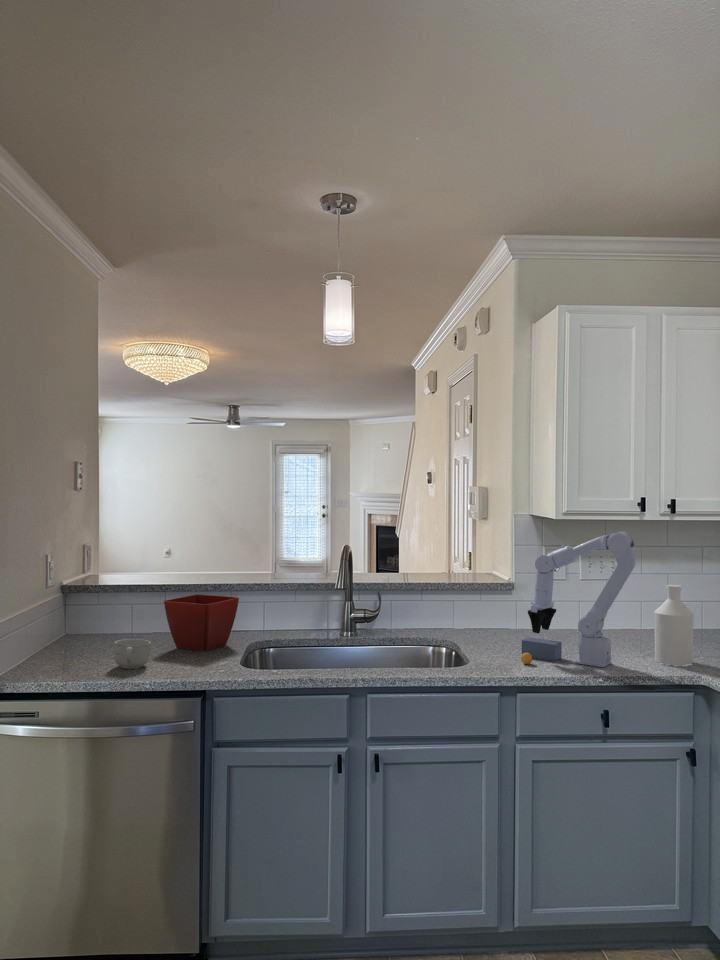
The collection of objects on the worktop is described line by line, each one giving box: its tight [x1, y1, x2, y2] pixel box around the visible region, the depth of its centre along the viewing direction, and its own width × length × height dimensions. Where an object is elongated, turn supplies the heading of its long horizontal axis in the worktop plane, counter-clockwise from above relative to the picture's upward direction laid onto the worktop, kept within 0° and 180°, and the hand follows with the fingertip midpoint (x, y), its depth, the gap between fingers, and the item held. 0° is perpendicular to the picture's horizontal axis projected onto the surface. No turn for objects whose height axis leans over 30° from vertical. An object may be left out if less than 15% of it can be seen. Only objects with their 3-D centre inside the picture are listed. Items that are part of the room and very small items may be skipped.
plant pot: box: [163, 594, 240, 652], centre depth 263 cm, size 19×19×17 cm
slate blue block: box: [521, 637, 563, 662], centre depth 250 cm, size 12×6×5 cm, turn 53°
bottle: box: [653, 584, 695, 665], centre depth 244 cm, size 12×12×25 cm
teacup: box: [113, 638, 152, 670], centre depth 232 cm, size 14×11×8 cm
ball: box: [520, 653, 533, 665], centre depth 241 cm, size 4×4×4 cm
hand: (540, 631), depth 251 cm, fingers open, 7 cm apart
